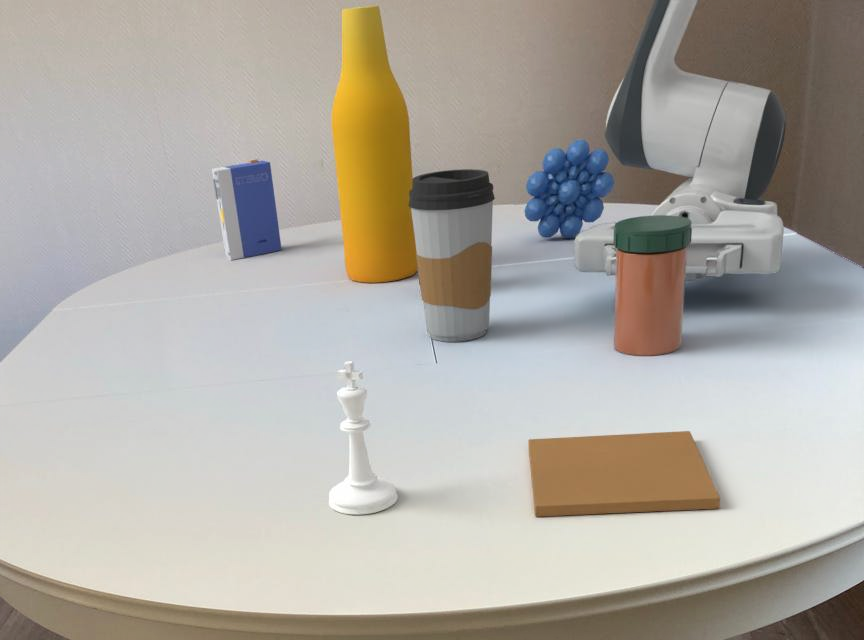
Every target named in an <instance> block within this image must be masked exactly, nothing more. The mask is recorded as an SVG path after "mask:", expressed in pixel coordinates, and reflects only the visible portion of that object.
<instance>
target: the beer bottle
mask: <svg viewBox="0 0 864 640" xmlns="http://www.w3.org/2000/svg"><path fill="white" fill-rule="evenodd" d="M382 21H383V20H382V15H381V10H380V6H379V5H370V6H359V7H350V8H349V7H348V8H343V9H341V72H340V78H339V80H338V85H337V87H336V91H335V94H334V98H333V103H332V108H331V121H330V122H331V134H332V141H333V142H332V143H333V153H334V163H335V172H336V173H335V174H336V181H337V182H336V183H337V192H338V201H339V213H340V221H341V230H342V240H343V241H342V242H343V254H344V255H343V256H344V266H345V272H346V275H347V276H348V278H349V279H350V280H351V281H353V282H358V283H365V284H366V283H367V284H375V283H378V284H379V283H387V282H396V281H399V280H404V279H407V278H409V277H413V276H414V275H415V274H416V273H417V272H418V265H417V258H416V243H415V235H414V227H413V219H412V212H411V207H409V200H410V197H409V191H410V190H412V182H413V178H414V177H413V162H412V146H411V133H410V130H411V129H410V116H409V111H408V106H407V103H406V99H405V97H404V95H403V92H402V90H401V87H400V85H399V84H398V82H397V80H396V77H395V75H394V74H393V71H392V69H391V65H390V61H389V55H388V51H387V45H386V40H385V33H384V27H383V22H382Z"/></svg>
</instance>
